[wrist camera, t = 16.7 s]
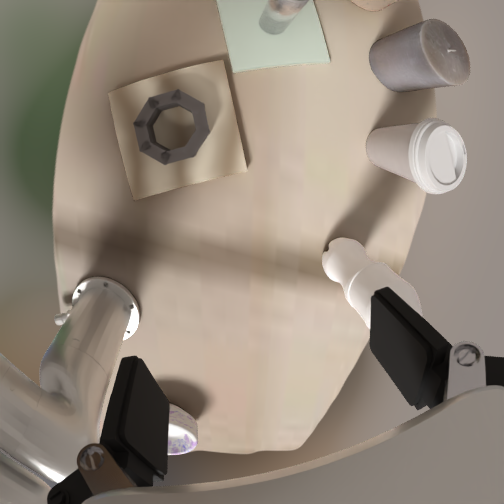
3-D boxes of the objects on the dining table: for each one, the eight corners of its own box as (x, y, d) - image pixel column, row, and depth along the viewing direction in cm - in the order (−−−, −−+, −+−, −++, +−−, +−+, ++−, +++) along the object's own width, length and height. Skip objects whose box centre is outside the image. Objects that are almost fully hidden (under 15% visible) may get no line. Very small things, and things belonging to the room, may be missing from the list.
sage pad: (232, 73, 33) (233, 71, 32) (214, -5, 28) (214, -8, 27) (327, 63, 34) (330, 62, 33) (306, -11, 28) (308, -14, 27)
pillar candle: (411, 46, 33) (470, 29, 19) (417, 96, 37) (481, 93, 23) (364, 34, 32) (419, 5, 18) (371, 89, 36) (433, 76, 22)
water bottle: (333, 225, 43) (438, 311, 20) (364, 245, 46) (465, 330, 23) (309, 262, 45) (388, 372, 22) (341, 280, 47) (423, 382, 24)
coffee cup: (404, 177, 42) (468, 197, 28) (357, 177, 41) (418, 198, 27) (404, 121, 38) (470, 124, 24) (355, 116, 37) (418, 112, 23)
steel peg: (255, 12, 29) (274, -33, 17) (284, 11, 29) (313, -32, 17) (261, 36, 30) (283, -4, 18) (290, 34, 31) (323, -3, 19)
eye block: (136, 198, 38) (125, 207, 33) (111, 94, 31) (97, 88, 26) (246, 170, 39) (251, 174, 33) (222, 62, 32) (224, 50, 27)
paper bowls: (149, 383, 51) (144, 413, 44) (210, 410, 56) (211, 438, 49) (122, 413, 54) (117, 439, 47) (177, 435, 60) (176, 461, 52)
